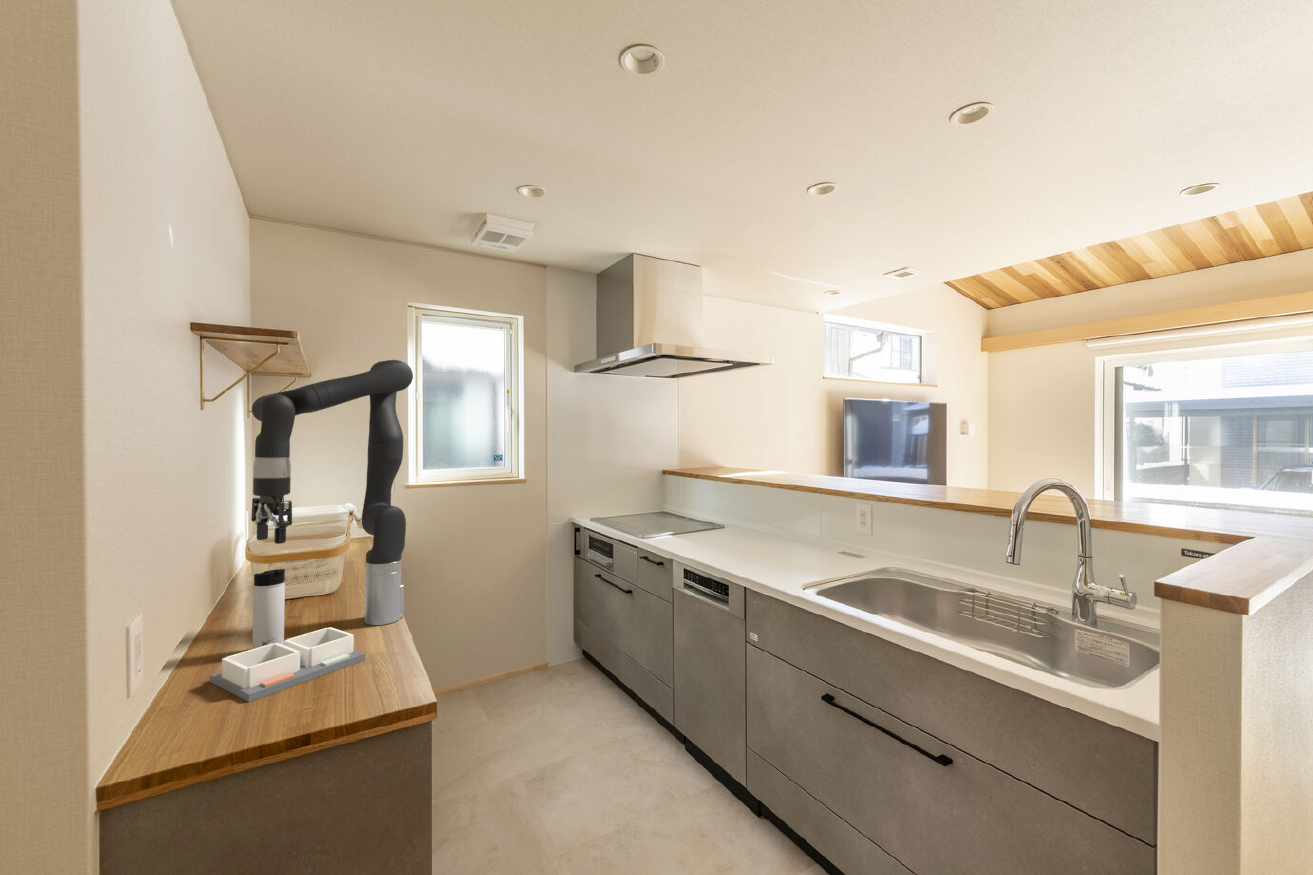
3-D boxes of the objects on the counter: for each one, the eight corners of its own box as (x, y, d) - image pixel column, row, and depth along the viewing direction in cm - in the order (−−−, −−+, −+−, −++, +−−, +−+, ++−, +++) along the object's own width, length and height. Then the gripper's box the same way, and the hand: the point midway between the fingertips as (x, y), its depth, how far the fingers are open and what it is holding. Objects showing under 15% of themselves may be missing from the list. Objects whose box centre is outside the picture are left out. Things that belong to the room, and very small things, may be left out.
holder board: (324, 645, 136) (325, 623, 136) (365, 659, 128) (365, 636, 128) (209, 681, 115) (210, 656, 115) (249, 702, 107) (249, 674, 107)
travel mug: (268, 656, 129) (269, 573, 129) (245, 654, 130) (247, 571, 130) (291, 647, 135) (292, 567, 135) (269, 644, 136) (270, 565, 136)
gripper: (304, 476, 132) (302, 542, 132) (274, 473, 139) (272, 536, 139) (270, 477, 126) (268, 547, 126) (240, 475, 133) (239, 540, 133)
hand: (270, 541), depth 132 cm, fingers open, 8 cm apart
